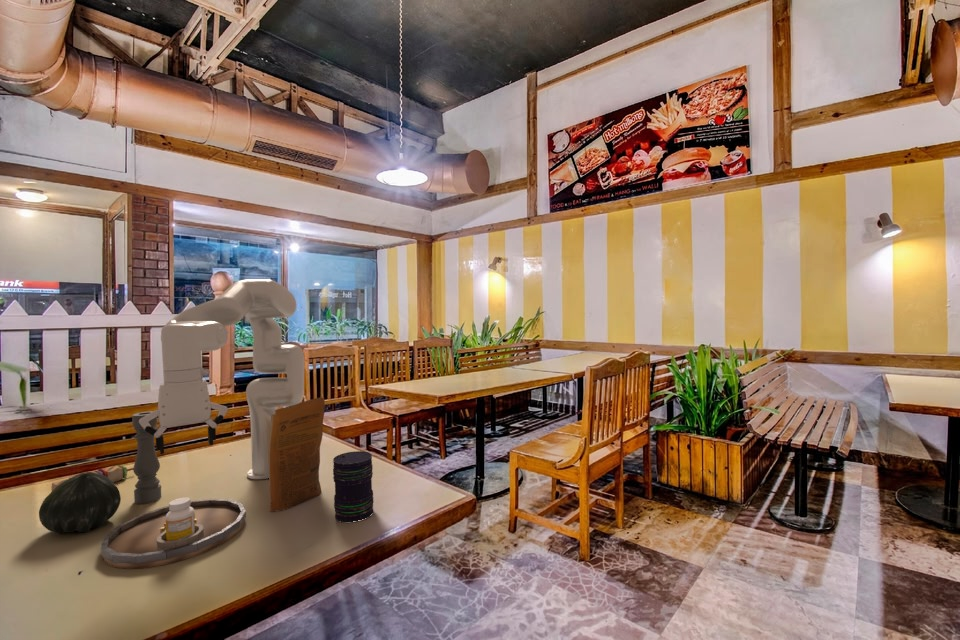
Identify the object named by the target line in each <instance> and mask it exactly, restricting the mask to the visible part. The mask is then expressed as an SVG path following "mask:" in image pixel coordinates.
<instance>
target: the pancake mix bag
mask: <svg viewBox="0 0 960 640" xmlns="http://www.w3.org/2000/svg"><path fill="white" fill-rule="evenodd" d="M325 403H326V402H325V398H324V397H322V396H320V397H316V398H312V399H308V400H305V401H301V403H299V404H296V405H293V406H284V407H281V408H277V410H275V414H273V415H272V416H271V422H270V433H269V442H268V467H269V479H268V480H269V486H268V487H269V496H270V505H269V512H277V511H276V510H282V511H284V510H283V509H286V510H288V509H287V508H289V509H290V507H291V508H293V507H295V506H297V505H299V504H302V503H304V502H306V501H308V500H310V498H311V499H313V498H315V496H316V497H318V496H320V494H321V493H322V487H321V482H320V473H319V471H320V464H321V444H322V441H323V436H324V435H323V434H324V417H325V411H326V410H325V408H326V406H325ZM320 492H321V493H320ZM317 495H318V496H317ZM292 506H293V507H292Z"/></svg>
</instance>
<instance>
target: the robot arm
mask: <svg viewBox="0 0 960 640" xmlns="http://www.w3.org/2000/svg"><path fill="white" fill-rule="evenodd" d="M296 310H297V300H296V298H295V296H294V294H293V293H292V292H291V291H290V290H288V289H287V288H286V287H285V286H283V284H281V283H279V282H277V281H275V280H273V279H242V280H241V279H240V280H238V281H236V282H234V283H232V284H231V285H229V287H228V288H226V289H225V290H224V291H223V292H222V293H221V294H220V295H219V296H218V297H216V298H215V299H211V300H209V301H204V302H202V303H200V304H198V305H195V306H192V307H190V308H187V309H185V310H183V311H181V312H179V313H178V314H176V315H175V316H174V317H172V318H171V319H170V320H169V321H168V322H167V323H166V324H165V325H163V326H162V328H161V331H160V341H161V354H162V355H161V356H162V369H163V370H162V371H163V372H162V373H163V383H160V384H159V389H158V395H157V396H158V398H157V399H158V400H157V403H158V404H157V408H156V409H155V410H153V412H152V413H150V414H148V415H146V416H144V417H143V418H141V419H140V420H139V423H140V424H141V426H142V427H143V428H144V429H145V431H146V432H148V433H149V434H151V435H153V436H154V437H155V438H154V439H155V451H159V454H160V455H164V454H165V443H164V442H165V441H164V434H163V433H164V432H165V431H166V430H167V428H176V427H181V426H182V427H183V426H189V425H194V424H199V423H206V425H208V427H207V437H208V438H207V441H208V444H209V446H213V445H214V441H217V433H216V431H217V430H216V429H217V427H218V425H219V424H220V423H221V422H222V421H223V420H224V417H225V416H226V414H227V412H228V410H229V408H228V406H225V405H221V404H219V403H215V402H212V401H211V400H210V393H209V388H208V387H209V386H208V383H207V380H206V379H205V378H204V376H206V375H210V369H209V368H204V367H202V366H203V364H202V352H214V351H218V350H220V349H221V348H223V347H225V345H226V344H227V342H228V339H229V332H228V330H227V327H228V326H232V325H236V324H237V323H239V322H240V321H241V320H242V319H243V318H246V320H247V321H248V323H249V325H250V326H251V328H252V335H253V339H252V341H253V346H252V367H253V370H254V371H255V372H256V373H258V374H267V375H269V374H270V375H271V374H273V375H274V374H275V375H276V374H286V376H285V377H284V376H283V377H261V378H256V379H253V380H252V381H250V382H249V383H248V384H247V386H246V389H245V393H246V394H245V395H246V396H245V397H246V401H247V404H248V409H249V415H250V416H249V418H250V419H249V420H250V442H251V444H250V445H251V466H252V468H250V469H249V470H248V471H247V473H246V477H247V478H248V479H250V480H267V479H268V478H269V467H268V442H269V433H270V422H271V416H272V415H273V414H275V410H277V409H278V407H288V406H293V405H296V404H299V403H301V402H303V399H304V394H305V355H304V354H305V353H304V351H303V349H302V348H301V347H300V346H299V345H296V344H282V330H281V327H280V325H279V323H277V321H276V320H275V319H278V318H280V319H281V318H289V317H291V316H293V315H294V314H295V312H296ZM274 318H275V319H274ZM212 409H213V410H215V411H219V412H218V415H216V416H215V417H214V418H212V417H211V416H212V411H211V410H212ZM155 417H157V419H158V423H159V425H157V426H156V427H155V428H154V427H152V426H151V425H150V424H149V423H148V422H149V421H150V420H152V419H154V418H155ZM268 480H269V479H268Z"/></svg>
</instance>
